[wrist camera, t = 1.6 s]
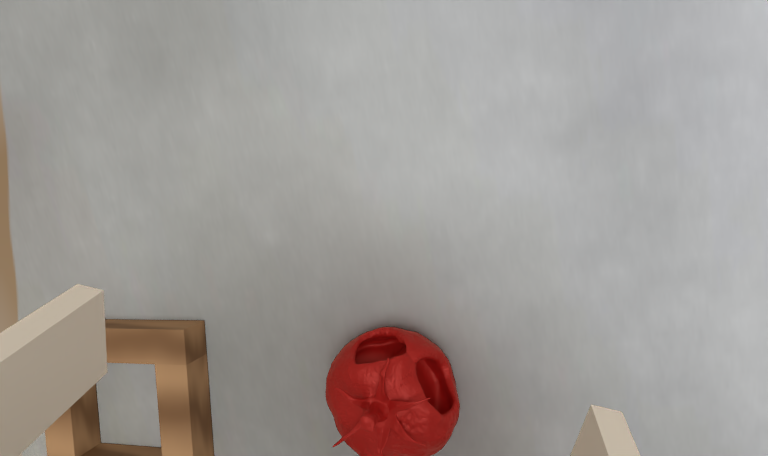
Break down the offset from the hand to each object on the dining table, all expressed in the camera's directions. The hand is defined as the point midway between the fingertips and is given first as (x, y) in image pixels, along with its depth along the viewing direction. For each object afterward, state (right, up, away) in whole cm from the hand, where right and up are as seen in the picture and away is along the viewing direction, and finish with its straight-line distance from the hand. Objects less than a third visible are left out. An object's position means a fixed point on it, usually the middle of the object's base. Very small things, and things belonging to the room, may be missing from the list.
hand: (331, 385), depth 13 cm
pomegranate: (+3, -8, +28) cm, 29 cm away
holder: (-21, -12, +33) cm, 41 cm away
